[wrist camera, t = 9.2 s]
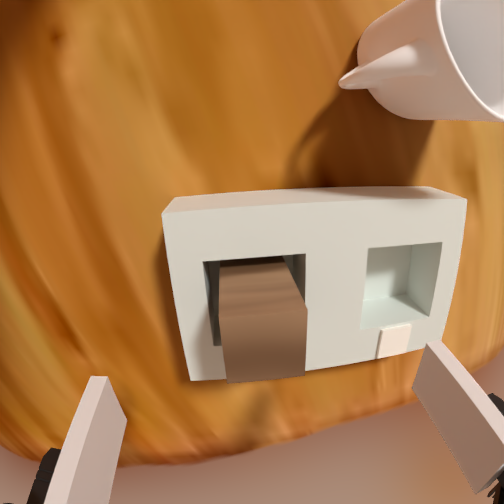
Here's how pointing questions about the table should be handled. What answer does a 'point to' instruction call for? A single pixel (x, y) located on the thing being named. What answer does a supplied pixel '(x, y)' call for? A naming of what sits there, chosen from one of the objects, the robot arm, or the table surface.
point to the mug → (435, 60)
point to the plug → (261, 320)
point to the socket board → (322, 265)
